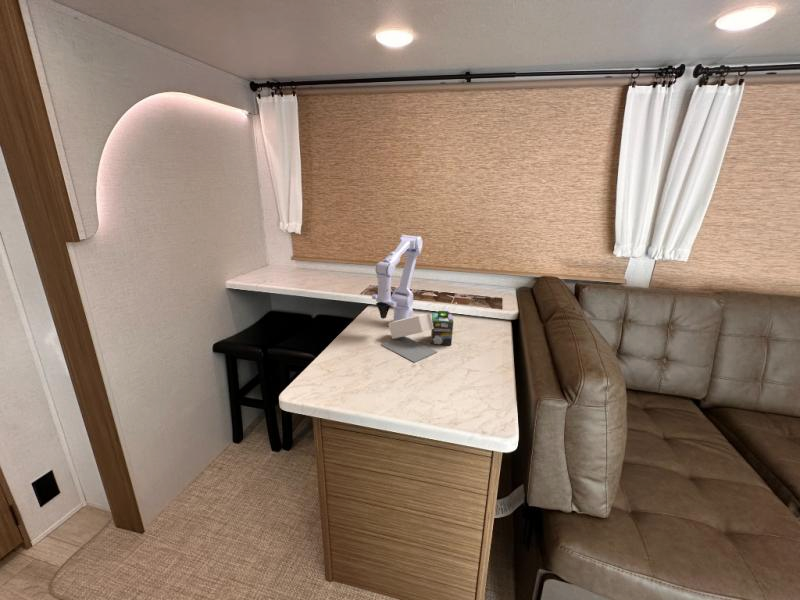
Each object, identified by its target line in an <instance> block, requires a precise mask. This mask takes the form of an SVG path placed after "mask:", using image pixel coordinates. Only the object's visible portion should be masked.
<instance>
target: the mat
mask: <svg viewBox="0 0 800 600" xmlns="http://www.w3.org/2000/svg"><path fill="white" fill-rule="evenodd" d="M381 347H383V348H386V349H388V350H390V351H391V352H393V353H395V354H396V355H399V356H401V357H402V358H404V359H405V360H408V361H410V362H411V363H414V364H415V363H417V362H420V361H421V360H425V359H427V358H429V357H431V356H433V355H435V354H437V352H438V351H437V350H435V349H432V348H430V347H429V346H426V345H425V344H422V343H420V342H418V341H417V340H416V341H415V340H414V339H412V338H409V337H408V336H403V337H399V338H394V339H393V340H391V341H387V342H385V343H382V344H381Z"/></svg>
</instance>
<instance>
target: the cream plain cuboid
mask: <svg viewBox="0 0 800 600" xmlns="http://www.w3.org/2000/svg"><path fill="white" fill-rule="evenodd" d="M393 321H394V320H393ZM393 321H391V323H390V322H388V328H389V331H390V334H391V335H390V336H391V338H392V339H393V340H395V339H398V338H400V337H403V336H406V337H408V336H411V335H412V336H413V335H416V334H420V333H425V332H428V331H430V330H431V329H434V327H433V323H432V315H431V313H430V312H427V313H423V314H422V313H421V314H418V315H415V316H414V315H413V317H410V318H405V319H401V320H397V321H394V322H393Z"/></svg>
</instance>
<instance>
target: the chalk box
mask: <svg viewBox="0 0 800 600" xmlns="http://www.w3.org/2000/svg"><path fill="white" fill-rule="evenodd" d="M431 320H432V323H433V327H434V329H431V332H430V333H431V334H430V340H431V341H430V343H431V345H441V344H446V346H452V341H453V331H454V330H453V329H454V317H453V314H452V313H450V312H449V311H448V310H438V311H437V313H435V312H434V313H432V314H431Z"/></svg>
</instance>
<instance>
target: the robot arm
mask: <svg viewBox="0 0 800 600" xmlns="http://www.w3.org/2000/svg"><path fill="white" fill-rule="evenodd" d="M398 242H399V243H398V245H397V247H396V248H395V249H394V251H390V252H389V253H388V255H386V257H385V258H383V260H382V261H379V262H378V263H376V266H375V269H374V270H375V271H374V272H375V274H376V278H377V293H374V294H372V295H371V299H372V300H375V304H376V305H375V306H377V308H378V312H379V315H380V318H381V319H382V320H383V319H386V318H387V316H388V313H389V310H390V308H393V320H392V321H391V322H394V321H397V320H401V319H405V318H410V317H414V310H413V309H414V308H413V307H412V306H413V302H414V294H413V291H412V290H411V289H410V288H411V284H412V279H413V276H414V271H415V267H416V262H417V258H418V256H420V255H421V253H422V249H423V243H424V242H423V238H422V237H421V236H416V235H409V234H408V235H407V234H402V235H401V236H400V238H399V241H398ZM403 254H405V255H406V259H405V262H404V266H403V271H402V275H401V279H400V283H399V286H398V287H397V288H396V287H395V288H394V289H393V292H392V276H393V275H394V273H395V270H396V267H397V265H398V264H399V263H400V261H401V256H403ZM391 292H392V294H391ZM391 322H389V323H391Z"/></svg>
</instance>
